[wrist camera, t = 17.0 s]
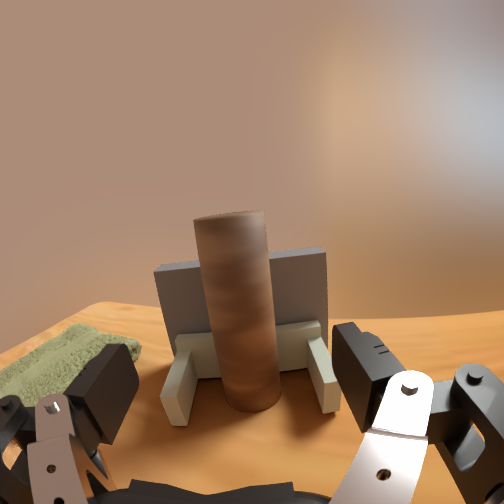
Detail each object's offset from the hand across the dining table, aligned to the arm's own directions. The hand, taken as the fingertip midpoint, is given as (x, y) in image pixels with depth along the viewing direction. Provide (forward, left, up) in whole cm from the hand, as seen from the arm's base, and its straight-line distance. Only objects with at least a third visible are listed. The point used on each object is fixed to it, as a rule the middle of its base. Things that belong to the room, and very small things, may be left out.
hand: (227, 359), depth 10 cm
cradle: (0, +8, -9) cm, 12 cm away
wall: (0, +13, -9) cm, 16 cm away
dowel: (0, +9, -9) cm, 13 cm away
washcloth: (-20, +10, -10) cm, 24 cm away
